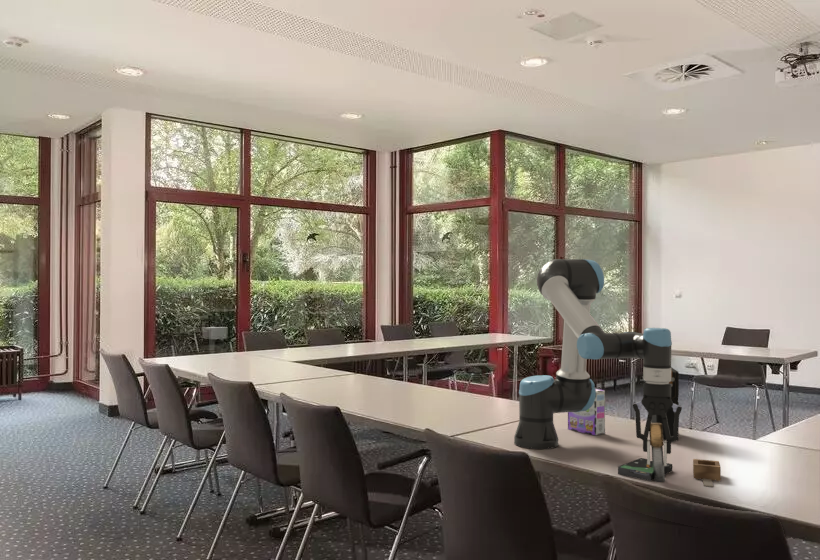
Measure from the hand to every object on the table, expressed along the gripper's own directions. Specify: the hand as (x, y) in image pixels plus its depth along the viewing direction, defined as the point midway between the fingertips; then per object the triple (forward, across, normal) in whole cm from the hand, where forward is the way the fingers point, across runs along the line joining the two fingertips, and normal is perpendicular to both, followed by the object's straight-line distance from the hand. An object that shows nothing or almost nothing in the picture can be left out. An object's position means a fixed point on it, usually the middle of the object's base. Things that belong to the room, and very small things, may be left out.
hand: (656, 463), depth 196 cm
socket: (+5, +14, +9) cm, 17 cm away
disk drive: (+5, -3, +7) cm, 9 cm away
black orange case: (+5, +2, +60) cm, 61 cm away
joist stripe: (+5, +14, +9) cm, 17 cm away
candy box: (+5, -26, +58) cm, 63 cm away
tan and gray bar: (+5, +1, 0) cm, 5 cm away
